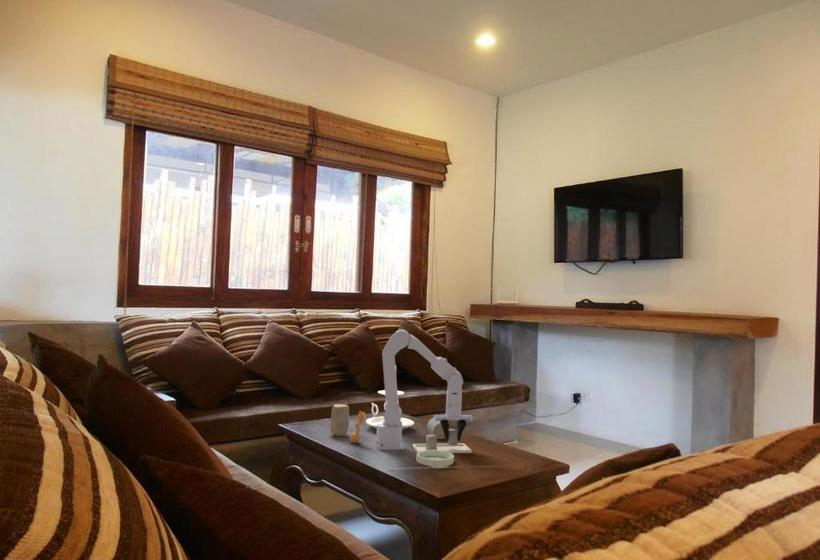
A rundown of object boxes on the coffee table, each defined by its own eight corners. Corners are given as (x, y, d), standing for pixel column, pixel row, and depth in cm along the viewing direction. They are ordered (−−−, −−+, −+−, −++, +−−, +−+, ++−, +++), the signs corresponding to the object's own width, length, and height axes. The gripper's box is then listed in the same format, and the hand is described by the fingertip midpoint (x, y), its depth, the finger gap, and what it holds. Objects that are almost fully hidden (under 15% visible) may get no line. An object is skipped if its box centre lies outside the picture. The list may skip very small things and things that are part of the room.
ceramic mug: (433, 441, 226) (434, 421, 226) (426, 436, 234) (427, 417, 234) (458, 440, 229) (459, 421, 229) (450, 435, 237) (451, 416, 237)
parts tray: (418, 455, 205) (418, 451, 205) (412, 447, 215) (412, 443, 215) (471, 454, 209) (471, 450, 209) (463, 446, 219) (463, 443, 219)
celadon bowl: (420, 468, 190) (421, 460, 190) (413, 457, 202) (413, 450, 202) (457, 467, 192) (457, 459, 192) (447, 456, 204) (448, 449, 205)
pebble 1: (427, 451, 209) (427, 437, 209) (424, 448, 213) (425, 434, 213) (437, 450, 210) (438, 437, 210) (435, 447, 214) (435, 434, 214)
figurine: (345, 441, 221) (346, 409, 221) (358, 439, 224) (359, 408, 224) (355, 446, 214) (357, 414, 214) (369, 444, 217) (371, 412, 218)
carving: (350, 436, 228) (352, 406, 229) (332, 437, 225) (333, 407, 225) (345, 432, 234) (347, 403, 234) (328, 433, 231) (329, 403, 231)
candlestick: (389, 419, 260) (392, 358, 261) (423, 431, 241) (426, 365, 241) (351, 424, 248) (353, 360, 249) (383, 437, 228) (386, 367, 229)
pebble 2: (448, 445, 210) (448, 431, 211) (445, 442, 214) (446, 429, 215) (458, 445, 211) (459, 431, 211) (455, 442, 215) (456, 429, 215)
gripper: (437, 405, 208) (435, 443, 208) (475, 406, 211) (474, 443, 210) (433, 402, 215) (431, 438, 214) (470, 402, 218) (468, 438, 217)
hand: (452, 440), depth 213 cm, fingers closed on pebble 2, 4 cm apart
